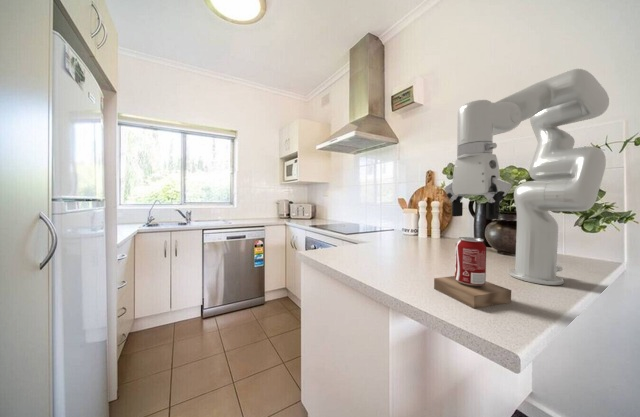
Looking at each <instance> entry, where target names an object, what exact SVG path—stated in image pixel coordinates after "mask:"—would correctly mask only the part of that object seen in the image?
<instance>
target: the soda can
mask: <svg viewBox="0 0 640 417" xmlns="http://www.w3.org/2000/svg"><path fill="white" fill-rule="evenodd" d="M484 240H485V239H484V238H480V237H479V238H478V237H472V236H471V237H470V236H462V237H461V236H460V237H458V240H457V242H456V243H455V253H454V254H455V258H454V259H455V260H454V261H455V263H454V264H455V265H454V276H455V280H457V281H458V282H459V283H461V284H463V285H466V286H471V287H480V286H483V285H485V281H486V277H487V274H486V272H487V246H486V244H485V243H484Z"/></svg>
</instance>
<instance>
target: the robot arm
mask: <svg viewBox="0 0 640 417" xmlns="http://www.w3.org/2000/svg"><path fill="white" fill-rule="evenodd" d="M609 105H610V98H609V95H608V92H607V90H606V89H605V88H604V87H603V86H602V84H601V83H600V82H599V81H598V80H597V79H596V77H595V76H594V75H593V74H592V73H591V72H589V71H588V70H586V69H583V68H574V69H570V70H567V71H565V72H562V73H559V74H557V75H554V76H551V77H550V78H546V79H544V80H541V81H539V82H536V83H534V84H532V85H530V86H528V87H525V88H524V89H521V90H519V91H516V92H515V93H512V94H510V95H508V96H506V97H503V98H501V99H500V100H498V101H495V102H491V100H487V99H477V100H474V101H469V102H467V103H464V104H463V105H461V107H460V108H459V109H458V111H457V128H456V129H457V140H456V141H457V142H456V143H457V145H456V146H457V147H456V150H457V151H456V152H457V153H456V154H457V155H456V156H457V158H456V159H455V163H454V168H453V172H452V182H451V183H449V184H448V185H447V186H445V187H444V190H445V193H446V196H447V198H448V199H449V202H450V203H451V217H462V216H463V209H464V208H463V204H464V203H463V201H462V200H463V199H464V197H465V196H483V197H484V198H486V200H487V201H488V202H486V204H485V219H486V220H498V219H499V216H500V203H502V202H503V200H504V199H505V198H506V197H507V196H508V193H509V191H510V190H511V188H512V186H513V184H512V183H511V182H509V181H506V180H504V179H501V174H500V173H501V172H500V166H499V161H498V158H497V155H496V154H495V153H494V154H493V150H495V149H496V148H497V147H498V146H497V145H498V144H497V143H496V142H493V138H494V137H493V136H496V135H500V134H505V133H509V132H511V131H513V130H515V129H517V127H518V126H520V125H521V122H524V121H526V120H529V121H530V126H531V129H532V132H533V134H534V136H535V138H536V140H537V145H536V149H535V151H534V154H533V157H532V160H531V163H530V167H529V171H528V173H529V176H530V178H531V179H532V180H528V181H525V182H522V183H520V184H518V185H517V186H516V187H515V189H514V192H513V199H514V204H515V209H516V234H515V235H516V236H515V238H516V239H515V241H516V242H515V266H514V267H515V268H512V269H509V271H508V274H509V275H510V276H511V277H513V278H515V279H517V280H520V281H525V282H528V283H533V284H539V285H546V286H561V285H563V284H564V282H565V280H564V279H563V278H562V277H560V276H558V275H557V273H558V272H562V271H563V267H562V266H561V265H557V264H558V248H559V247H558V245H559V244H558V242H559V240H558V239H559V224H558V222H557V221H556V219H555V218H554V217H553V215H551V214H550V212H552V211H553V212H585V211H588V210H590V209H591V208H592V207H594V205H595V203H596V201H597V197H598V194H599V191H600V188H601V184H602V181H603V177H604V174H605V171H606V163H607V159H606V155H605V152H604V150H602V149H601V148H599V147H597V146H589V145H588V146H581V147H574V146H575V138H574V136H572V135H571V134H570V133H569V132H567V131H565V130H563V129H561V128H559V127H560V126H565V125H569V124H575V123H578V122H582V121H583V122H584V121H587V120H593V119H596V118H597V117H600V116H602V115H603V114H604V113H605V112H606V111H607V110H608V108H609Z"/></svg>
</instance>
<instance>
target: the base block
mask: <svg viewBox="0 0 640 417" xmlns="http://www.w3.org/2000/svg"><path fill="white" fill-rule="evenodd" d="M433 280H434V281H433V282H434V283H433V288H434V290H436V291H438V292H439V293H442V294H444V295H446V296H448V297H450V298H451V299H454V300H456V301H457V302H460V303H462V304H463V305H466V306H469V307H470V308H472V309H479V308H485V307H490V306H496V305H502V304H508V303H512V289H509V288H506V287H504V286H501V285H497V284H495V283H492V282H489V281H486V280H485V285H483V286H480V287H471V286H466V285H463V284H461V283H459V282H458V281H457V280H455V275H452V276H443V277H441V276H440V277H434V279H433Z"/></svg>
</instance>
